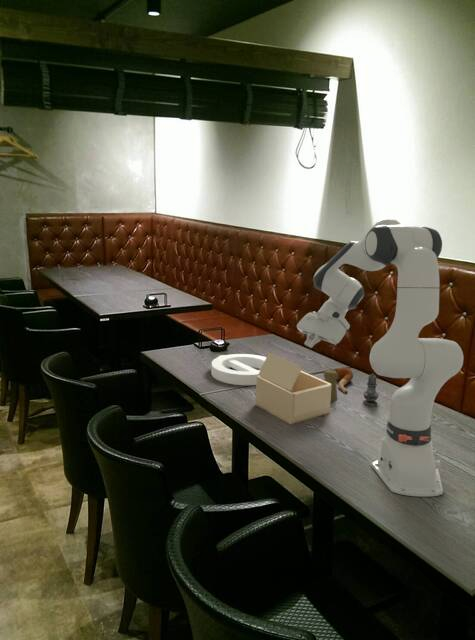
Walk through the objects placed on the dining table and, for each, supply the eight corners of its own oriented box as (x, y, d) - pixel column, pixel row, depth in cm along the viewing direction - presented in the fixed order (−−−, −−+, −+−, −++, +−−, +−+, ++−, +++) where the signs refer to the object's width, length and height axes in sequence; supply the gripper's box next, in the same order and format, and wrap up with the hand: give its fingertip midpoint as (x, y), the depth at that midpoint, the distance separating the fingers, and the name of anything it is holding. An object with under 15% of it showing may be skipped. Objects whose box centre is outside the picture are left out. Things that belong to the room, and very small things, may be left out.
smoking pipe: (351, 378, 238) (352, 365, 237) (358, 394, 220) (359, 380, 219) (334, 378, 239) (335, 365, 237) (340, 393, 221) (341, 380, 219)
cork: (319, 399, 214) (320, 371, 211) (324, 394, 219) (326, 367, 217) (334, 402, 211) (336, 374, 209) (339, 397, 216) (341, 370, 214)
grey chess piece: (378, 406, 209) (381, 375, 206) (362, 404, 210) (364, 374, 207) (377, 400, 214) (380, 370, 211) (362, 399, 215) (364, 369, 212)
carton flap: (259, 375, 204) (269, 353, 204) (290, 391, 189) (302, 366, 190) (258, 374, 203) (268, 352, 204) (289, 390, 189) (301, 366, 189)
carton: (293, 394, 218) (295, 367, 215) (331, 413, 201) (333, 384, 198) (254, 404, 207) (255, 376, 205) (291, 425, 190) (293, 394, 188)
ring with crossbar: (273, 388, 225) (274, 377, 224) (205, 382, 229) (205, 371, 228) (279, 366, 252) (280, 356, 251) (218, 362, 256) (218, 352, 255)
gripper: (306, 305, 211) (285, 333, 208) (345, 316, 195) (322, 347, 192) (314, 315, 215) (293, 343, 212) (353, 327, 198) (331, 358, 195)
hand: (307, 345), depth 202 cm, fingers closed
